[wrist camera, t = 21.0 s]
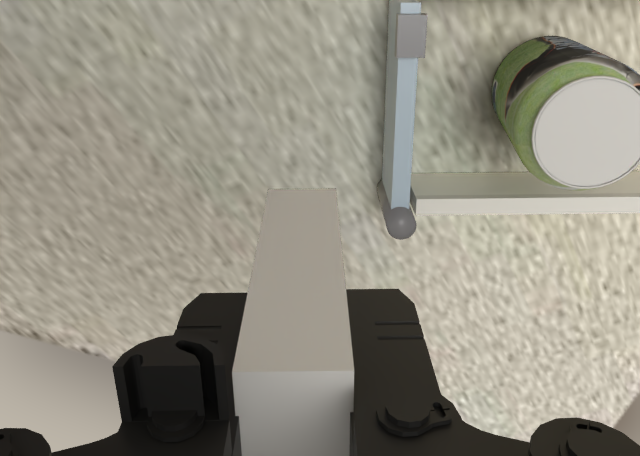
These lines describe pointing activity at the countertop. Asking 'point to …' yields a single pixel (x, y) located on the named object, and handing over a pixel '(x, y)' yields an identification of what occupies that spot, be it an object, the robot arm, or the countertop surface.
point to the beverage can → (569, 112)
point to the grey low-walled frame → (516, 195)
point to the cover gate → (400, 113)
